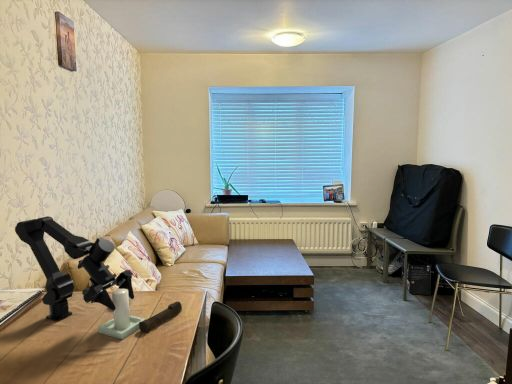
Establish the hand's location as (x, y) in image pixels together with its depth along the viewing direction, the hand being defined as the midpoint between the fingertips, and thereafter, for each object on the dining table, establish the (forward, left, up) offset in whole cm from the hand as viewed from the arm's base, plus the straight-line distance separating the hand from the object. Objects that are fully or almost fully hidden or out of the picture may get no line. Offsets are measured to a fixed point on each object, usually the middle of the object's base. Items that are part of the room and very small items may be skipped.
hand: (124, 304), depth 120 cm
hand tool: (+7, +10, -10) cm, 16 cm away
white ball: (-16, +15, -9) cm, 24 cm away
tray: (-1, 0, -9) cm, 9 cm away
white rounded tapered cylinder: (-1, 0, -8) cm, 8 cm away
